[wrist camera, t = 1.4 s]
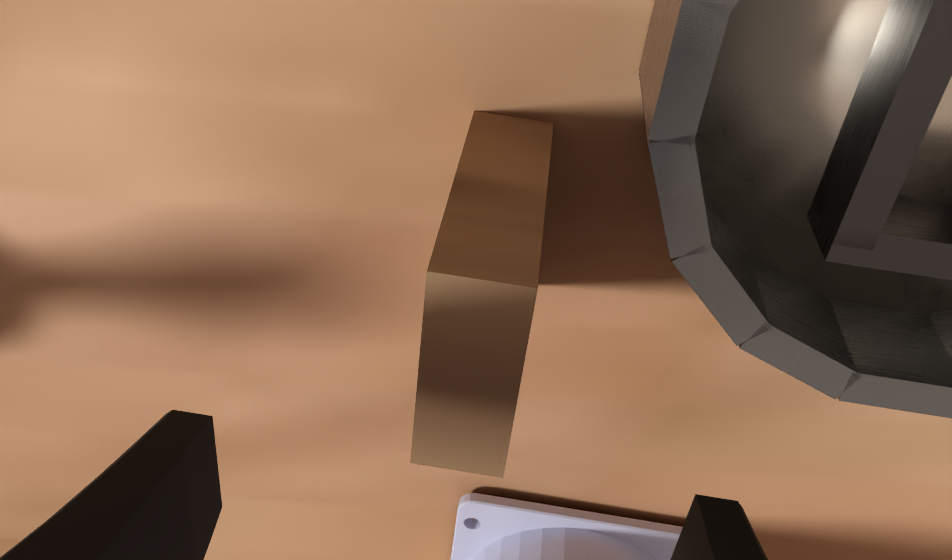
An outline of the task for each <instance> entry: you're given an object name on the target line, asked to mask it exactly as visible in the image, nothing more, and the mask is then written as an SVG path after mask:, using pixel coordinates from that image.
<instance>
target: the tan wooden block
mask: <svg viewBox="0 0 952 560" xmlns="http://www.w3.org/2000/svg"><path fill="white" fill-rule="evenodd" d="M553 124H554V122H548V121H541V120H534V119H527V118H520V117H513V116H507V115H500V114H493V113H486V112H479V111H474V113H473V117H472V120H471V124H470V127H469V130H468V134H467V137H466V141H465V144H464V147H463V151H462V154H461V158H460V161H459V164H458V168H457V171H456V174H455V178H454V181H453V185H452V188H451V191H450V195H449V198H448V202H447V205H446V208H445V212H444V215H443V219H442V222H441V225H440V229H439V232H438V236H437V239H436V242H435V246H434V249H433V253H432V256H431V259H430V263H429V266H428V270H427V277H426V289H425V300H424V312H423V323H422V335H421V346H420V358H419V369H418V381H417V392H416V404H415V415H414V427H413V438H412V449H411V461H410V463H414V464H420V465H426V466H432V467H439V468H445V469H451V470H457V471H463V472H469V473H476V474H482V475H488V476H494V477H500V478H503V475H504V470H505V464H506V459H507V453H508V448H509V442H510V437H511V432H512V426H513V421H514V415H515V410H516V404H517V399H518V393H519V388H520V382H521V377H522V371H523V366H524V360H525V355H526V349H527V344H528V339H529V333H530V328H531V322H532V317H533V311H534V306H535V300H536V295H537V289H538V280H539V269H540V259H541V249H542V238H543V228H544V217H545V207H546V197H547V186H548V176H549V165H550V155H551V144H552V134H553Z"/></svg>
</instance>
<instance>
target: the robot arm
mask: <svg viewBox="0 0 952 560" xmlns="http://www.w3.org/2000/svg"><path fill="white" fill-rule="evenodd" d="M221 509H222V501H221V492H220V483H219V473H218V464H217V455H216V445H215V436H214V427H213V418H212V416H208V415H202V414H196V413H190V412H183V411H177V410H172V411H170V412H168V413H167V414H166V415H165V416H163V417H162V418H161V419H160V420H159V421H158V422H157V423H156V424H155V425H154V426H153V427H152V428H151V429H149V430H148V431H147V432H146V433H145V434H144V435H143V436H142V437H141V438H140V439H139V440H138V441H137V442H135V443H134V444H133V445H132V446H131V447H130V448H129V449H128V450H127V451H126V452H125V453H124V454H122V455H121V456H120V457H119V458H118V459H117V460H116V461H115V462H114V463H113V464H111V465H110V466H109V467H108V468H107V469H106V470H105V471H104V472H103V473H101V474H100V475H99V476H98V477H97V478H96V479H95V480H94V481H92V482H91V483H90V484H89V485H88V486H87V487H85V488H84V489H83V490H82V491H81V492H80V493H79V494H77V495H76V496H75V497H74V498H73V499H72V500H70V501H69V502H68V503H67V504H66V505H65V506H63V507H62V508H61V509H60V510H59V511H58V512H56V513H55V514H54V515H53V516H52V517H51V518H49V519H48V520H47V521H46V522H45V523H43V524H42V525H41V526H40V527H38V528H37V529H36V530H35V531H33V532H32V533H31V534H29V535H28V536H27V537H26V538H24V539H23V540H22V541H21V542H19V543H18V544H17V545H16V546H14V547H13V548H12V549H10V550H9V551H8V552H7V553H5V554H4V555H3V556H2V557H0V560H203V559H204V557H205V554H206V551H207V548H208V546H209V543H210V540H211V537H212V535H213V532H214V529H215V526H216V523H217V520H218V517H219V514H220V511H221ZM472 518H475V519H472ZM451 560H768V559H767V557H766V555H765V553H764V551H763V549H762V547H761V545H760V543H759V541H758V539H757V537H756V535H755V533H754V531H753V529H752V527H751V524H750V522H749V520H748V518H747V516H746V514H745V512H744V510H743V508H742V506H741V505H740V504H739V502H738V501H734V500H727V499H721V498H715V497H709V496H703V495H697V494H696V495H695V497H694V500H693V502H692V505H691V508H690V510H689V513H688V515H687V518H686V520H685V523H684V526H683V527H681V526H675V525H669V524H662V523H656V522H650V521H644V520H638V519H632V518H626V517H620V516H613V515H607V514H601V513H595V512H589V511H583V510H577V509H571V508H565V507H558V506H552V505H546V504H540V503H534V502H528V501H522V500H516V499H510V498H503V497H497V496H491V495H485V494H479V493H469V494H465V495H464V496H462V497H461V499H460V501H459V505H458V511H457V519H456V526H455V533H454V540H453V547H452V554H451Z"/></svg>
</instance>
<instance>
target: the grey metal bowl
mask: <svg viewBox="0 0 952 560" xmlns="http://www.w3.org/2000/svg"><path fill="white" fill-rule="evenodd" d="M639 71H640V73H639V76H640V84H641V92H642V100H643V109H644V117H645V125H646V133H647V141H648V147H649V153H650V158H651V163H652V168H653V173H654V178H655V183H656V188H657V194H658V199H659V204H660V209H661V214H662V219H663V224H664V229H665V234H666V240H667V245H668V250H669V255H670V259H671V260H672V263H673V264H674V265H675V267H676V268H677V269H678V271H679V272H680V273H681V275H682V276H683V277H684V278H685V280H686V281H687V282H688V284H689V285H690V286H691V287H692V289H693V290H694V291H695V293H696V294H697V295H698V296H699V298H700V299H701V300H702V302H703V303H704V304H705V305H706V307H707V308H708V309H709V311H710V312H711V313H712V315H713V316H714V317H715V318H716V320H717V321H718V322H719V324H720V325H721V326H722V327H723V329H724V330H725V331H726V333H727V334H728V335H729V336H730V338H731V339H732V340H733V342H734V343H735V344H736V346H737V345H739V348H740V349H742V350H744V351H746V352H748V353H750V354H752V355H753V356H755V357H757V358H759V359H761V360H763V361H765V362H766V363H768V364H770V365H772V366H774V367H776V368H778V369H780V370H781V371H783V372H785V373H787V374H789V375H791V376H793V377H794V378H796V379H798V380H800V381H802V382H804V383H806V384H807V385H809V386H811V387H813V388H815V389H817V390H819V391H821V392H822V393H824V394H826V395H828V396H830V397H832V398H834V399H836V398H837V397H838V400H839V401H845V402H851V403H858V404H864V405H870V406H877V407H883V408H889V409H896V410H902V411H909V412H915V413H921V414H928V415H934V416H940V417H947V418H952V0H655V2H654V7H653V11H652V16H651V20H650V24H649V29H648V33H647V38H646V42H645V46H644V51H643V55H642V60H641V64H640V68H639Z"/></svg>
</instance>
